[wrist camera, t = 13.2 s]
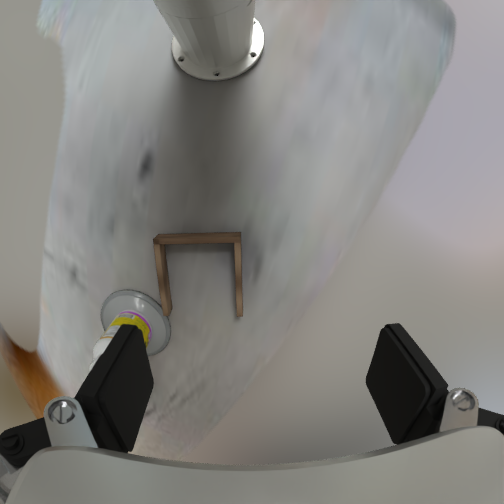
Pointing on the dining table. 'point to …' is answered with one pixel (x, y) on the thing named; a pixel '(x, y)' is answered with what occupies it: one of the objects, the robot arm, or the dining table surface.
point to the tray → (145, 307)
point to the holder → (195, 239)
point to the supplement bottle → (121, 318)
